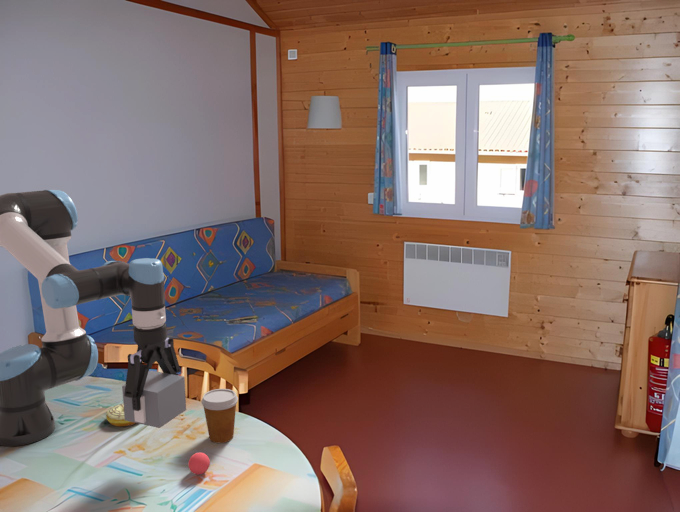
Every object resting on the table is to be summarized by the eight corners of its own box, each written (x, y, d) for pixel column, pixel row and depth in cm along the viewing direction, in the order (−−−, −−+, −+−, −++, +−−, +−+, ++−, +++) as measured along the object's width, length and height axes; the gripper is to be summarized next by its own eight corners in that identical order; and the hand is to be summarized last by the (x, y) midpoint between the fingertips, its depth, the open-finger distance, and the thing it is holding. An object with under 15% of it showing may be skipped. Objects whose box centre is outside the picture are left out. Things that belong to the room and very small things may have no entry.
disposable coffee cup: (231, 447, 161) (229, 404, 158) (197, 444, 163) (195, 401, 160) (244, 430, 170) (243, 389, 168) (211, 427, 172) (209, 386, 169)
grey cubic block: (124, 420, 148) (122, 385, 147) (152, 403, 158) (150, 370, 156) (159, 428, 145) (157, 392, 143) (186, 410, 154) (184, 376, 152)
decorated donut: (153, 420, 177) (152, 408, 176) (116, 432, 170) (115, 419, 169) (137, 408, 184) (136, 396, 184) (101, 419, 177) (100, 407, 177)
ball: (205, 470, 145) (194, 482, 147) (217, 460, 150) (206, 471, 152) (191, 454, 146) (180, 466, 148) (203, 444, 150) (193, 456, 152)
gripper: (129, 341, 135) (136, 436, 139) (192, 313, 155) (196, 396, 160) (102, 337, 137) (109, 429, 142) (167, 309, 158) (172, 391, 163)
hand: (155, 412), depth 151 cm, fingers closed on grey cubic block, 10 cm apart
